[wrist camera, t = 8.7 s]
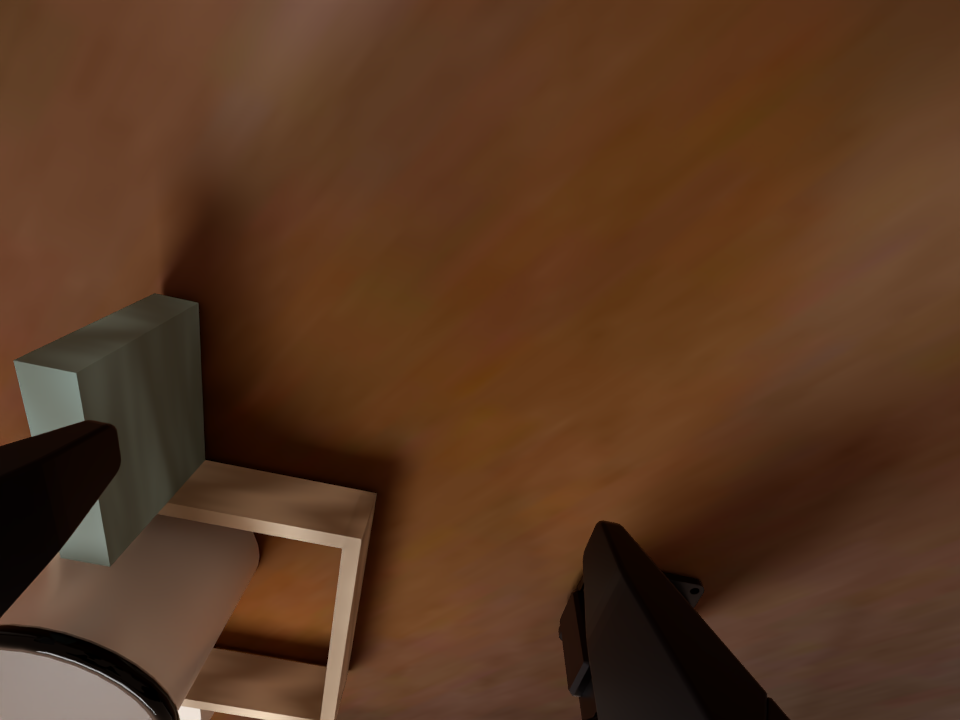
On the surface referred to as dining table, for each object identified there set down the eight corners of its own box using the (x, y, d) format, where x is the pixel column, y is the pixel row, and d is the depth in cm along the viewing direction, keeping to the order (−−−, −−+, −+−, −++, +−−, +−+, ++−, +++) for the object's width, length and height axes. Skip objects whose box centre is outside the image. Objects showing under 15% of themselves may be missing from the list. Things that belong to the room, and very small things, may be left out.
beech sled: (400, 346, 20) (362, 431, 15) (346, 678, 31) (312, 803, 25) (40, 268, 19) (-152, 326, 14) (111, 638, 30) (19, 759, 24)
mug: (151, 438, 23) (-34, 602, 15) (305, 541, 26) (218, 727, 18) (50, 556, 27) (-140, 736, 19) (193, 635, 30) (80, 822, 22)
